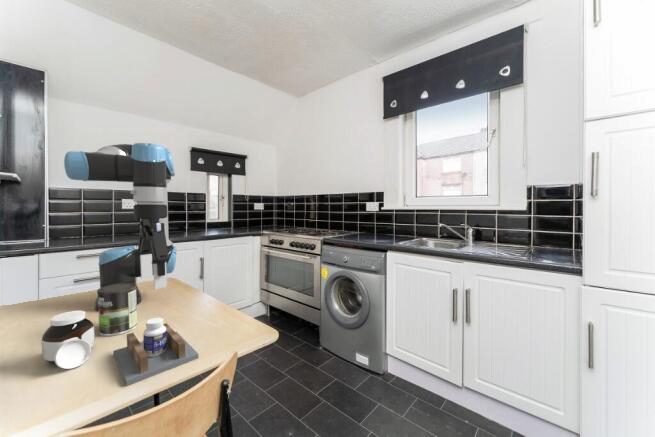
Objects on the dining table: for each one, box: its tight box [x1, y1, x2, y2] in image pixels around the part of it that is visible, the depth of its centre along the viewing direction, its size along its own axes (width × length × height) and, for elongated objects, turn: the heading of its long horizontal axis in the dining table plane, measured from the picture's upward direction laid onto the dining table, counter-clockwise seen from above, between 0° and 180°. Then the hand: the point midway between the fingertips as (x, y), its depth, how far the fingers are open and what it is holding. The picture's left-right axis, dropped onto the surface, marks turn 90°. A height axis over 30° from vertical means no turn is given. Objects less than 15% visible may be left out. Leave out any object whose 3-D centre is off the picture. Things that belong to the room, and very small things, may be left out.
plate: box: [112, 331, 199, 387], centre depth 75 cm, size 18×16×1 cm
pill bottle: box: [142, 317, 166, 357], centre depth 75 cm, size 5×5×9 cm
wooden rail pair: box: [126, 322, 185, 373], centre depth 75 cm, size 16×10×4 cm, turn 46°
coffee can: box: [96, 283, 138, 337], centre depth 91 cm, size 10×10×14 cm
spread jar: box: [41, 310, 95, 370], centre depth 73 cm, size 12×11×12 cm
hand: (153, 282), depth 74 cm, fingers open, 13 cm apart
